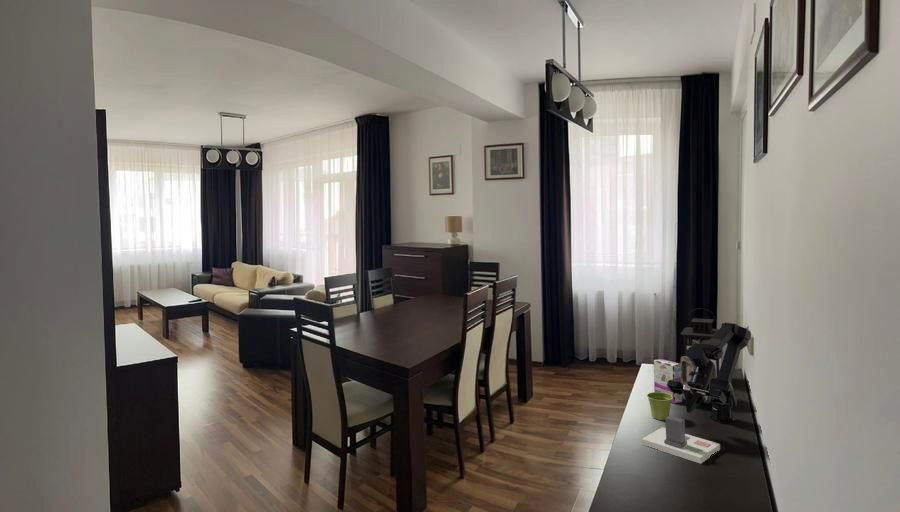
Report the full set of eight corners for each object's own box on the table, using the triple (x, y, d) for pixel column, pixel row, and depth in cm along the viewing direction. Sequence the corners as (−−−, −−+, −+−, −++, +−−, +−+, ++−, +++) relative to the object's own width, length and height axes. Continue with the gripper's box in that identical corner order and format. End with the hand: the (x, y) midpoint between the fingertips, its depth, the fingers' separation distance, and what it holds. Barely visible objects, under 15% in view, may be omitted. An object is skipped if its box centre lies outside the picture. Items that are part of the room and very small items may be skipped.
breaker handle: (670, 439, 170) (670, 414, 170) (687, 444, 166) (686, 419, 165) (664, 443, 168) (663, 418, 167) (680, 448, 163) (680, 422, 163)
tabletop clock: (680, 393, 220) (679, 337, 219) (701, 392, 220) (700, 336, 219) (695, 404, 206) (694, 345, 205) (717, 404, 206) (716, 344, 204)
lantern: (725, 376, 240) (724, 305, 238) (722, 387, 225) (721, 311, 223) (686, 372, 249) (684, 303, 247) (681, 382, 235) (679, 309, 233)
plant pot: (676, 422, 189) (675, 400, 189) (650, 421, 191) (649, 399, 191) (670, 413, 198) (669, 392, 198) (645, 412, 200) (644, 391, 200)
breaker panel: (662, 432, 181) (662, 426, 181) (720, 449, 165) (719, 443, 165) (642, 444, 172) (641, 438, 172) (700, 463, 157) (700, 457, 156)
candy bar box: (683, 402, 210) (682, 363, 209) (674, 404, 208) (673, 365, 207) (662, 394, 220) (661, 358, 219) (654, 396, 218) (652, 359, 217)
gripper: (736, 391, 175) (724, 431, 169) (684, 380, 190) (670, 416, 183) (726, 374, 170) (713, 415, 163) (673, 364, 184) (659, 402, 178)
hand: (688, 412), depth 172 cm, fingers closed
